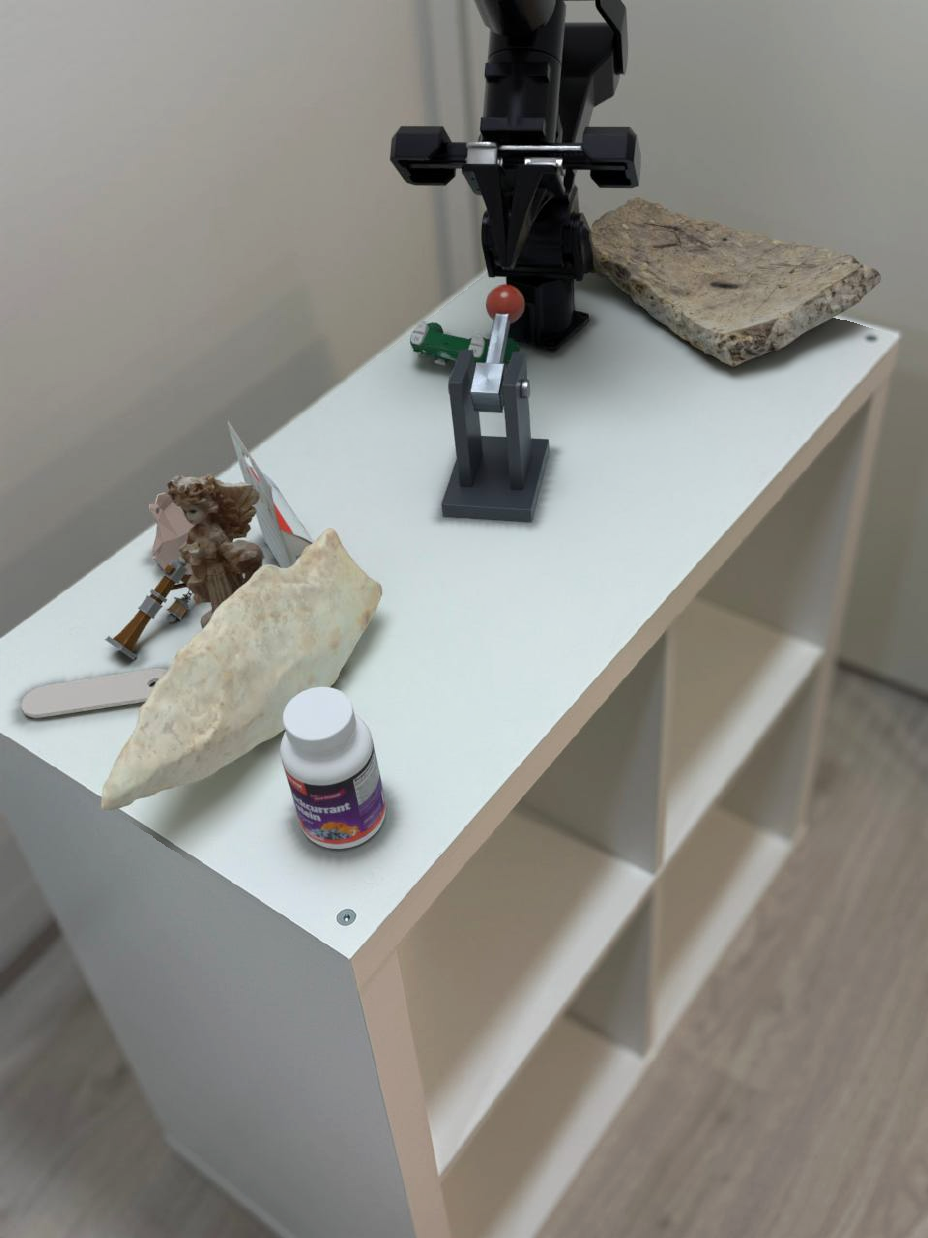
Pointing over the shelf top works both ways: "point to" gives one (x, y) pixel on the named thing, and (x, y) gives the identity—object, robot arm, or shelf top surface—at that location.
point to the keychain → (90, 693)
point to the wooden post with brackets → (155, 607)
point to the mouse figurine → (169, 531)
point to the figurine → (216, 536)
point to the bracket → (494, 450)
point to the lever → (496, 349)
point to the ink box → (273, 511)
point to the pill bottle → (331, 769)
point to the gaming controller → (453, 344)
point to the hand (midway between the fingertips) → (506, 267)
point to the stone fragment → (724, 279)
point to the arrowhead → (246, 670)
